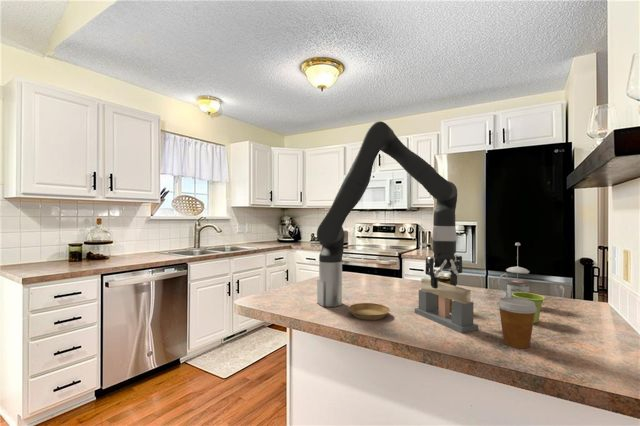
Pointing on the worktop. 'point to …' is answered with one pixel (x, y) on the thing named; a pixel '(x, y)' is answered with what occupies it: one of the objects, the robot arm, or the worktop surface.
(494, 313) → the worktop surface
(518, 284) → the french press
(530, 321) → the disposable coffee cup
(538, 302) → the plant pot
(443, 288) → the ash bar
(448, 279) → the condiment
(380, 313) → the plant saucer
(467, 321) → the display stand
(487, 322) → the worktop surface
